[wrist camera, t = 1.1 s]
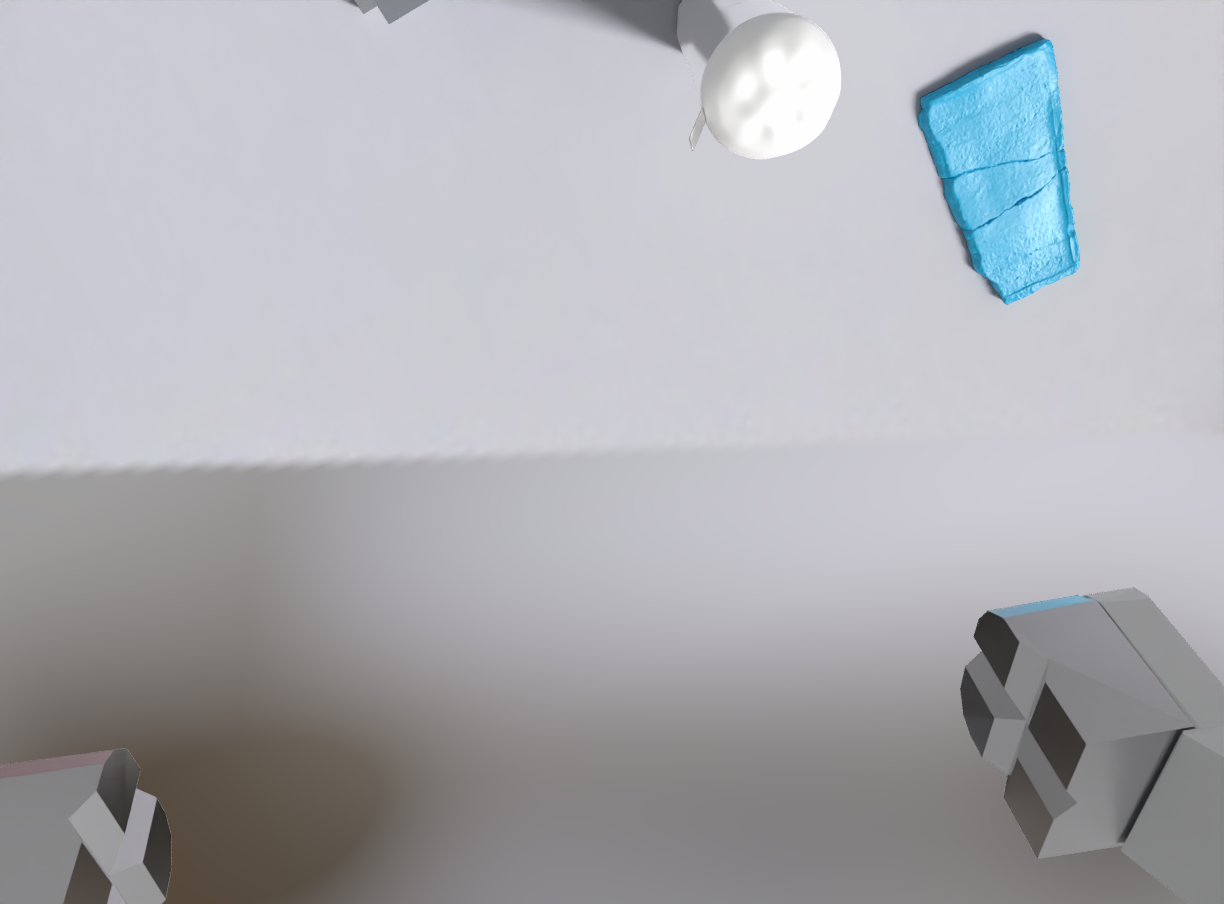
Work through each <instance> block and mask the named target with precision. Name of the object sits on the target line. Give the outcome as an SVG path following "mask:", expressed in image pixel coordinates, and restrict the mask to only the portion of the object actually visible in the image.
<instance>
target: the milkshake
mask: <svg viewBox="0 0 1224 904" xmlns="http://www.w3.org/2000/svg"><path fill="white" fill-rule="evenodd" d="M676 35H677V38H678V41H679V44H680V46H681V49H682V52H683V54H684V57H685V60H686V63H687V65H688V68H689V71H690V73H691V76H692V79H693V82H694V85H695V88H696V92H697V95H698V99H699V102H700V106H701V111H700V113H699V116H698V118H697V120H696V123H695V125H694V127H693V130H692V132H691V134H690V137H689V141H690V145H691V149H692V151H694V149H695V146H696V144H697V141H698V139H699V137H700V134H701V132H702V129H703V127H704V124H705V122H706V124H707V126H708V128H709V130H710V132H711V133H712V135H713V136H714V137H715V139H716V140H717V141H718V142H719V143H720V144H721V145H722V146H724V147H725V148H726V149H728V150H730V151H731V152H733V153H736V154H738V155H741V156H744V157H748V158H753V159H769V158H774V157H778V156H782V155H785V154H789V153H792V152H794V151H797V150H799V149H801V148H803V147H804V146H806V145H807V144H809V143H810V142H811V141H813V140H814V139H815V138H816V137H817V136H818V135H819V134H820V133H821V132H822V130H823V129H824V127H825V126H826V124H827V122H828V120H829V118H830V116H831V114H832V111H833V109H834V107H835V105H836V102H837V100H838V97H839V94H840V89H841V70H840V63H839V59H838V55H837V52H836V50H835V47H834V45H833V43H832V42H831V40H830V39H829V37H828V36H827V35H826V33H825V32H824V31H823V30H822V29H821V28H820V27H819V26H817V25H816V24H815V23H814V22H812V21H810V20H809V19H807V18H805V17H802V16H801V15H799V14H797V13H795V12H793V11H791V10H789V9H788V8H786V7H784V6H782V5H781V4H779V3H778V2H776V1H774V0H682V1H681V3H680V4H679V6H678V18H677V33H676Z"/></svg>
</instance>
